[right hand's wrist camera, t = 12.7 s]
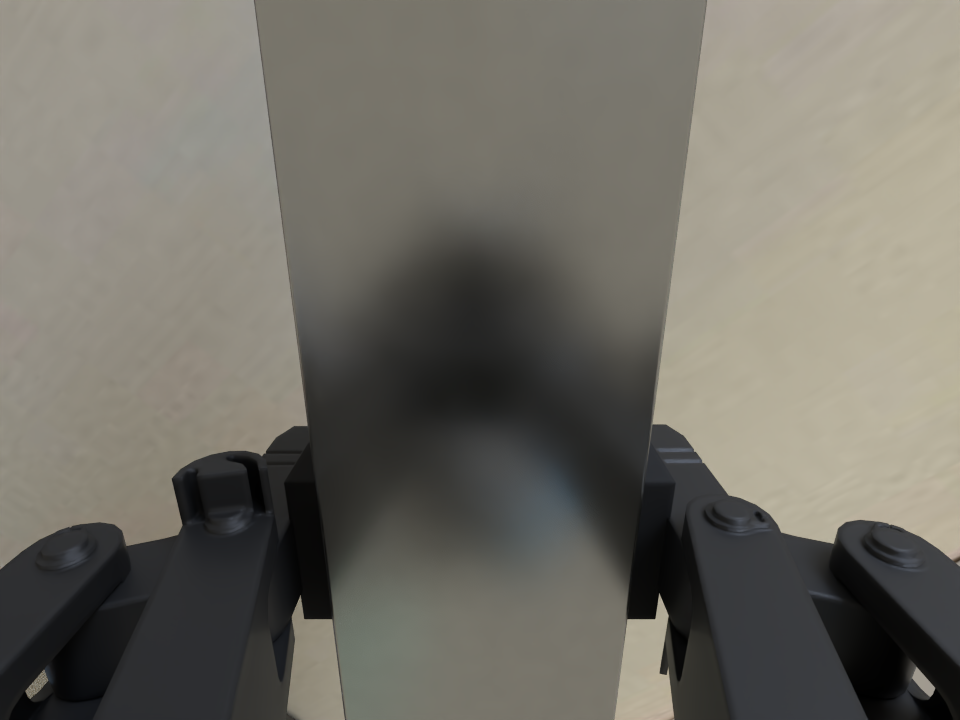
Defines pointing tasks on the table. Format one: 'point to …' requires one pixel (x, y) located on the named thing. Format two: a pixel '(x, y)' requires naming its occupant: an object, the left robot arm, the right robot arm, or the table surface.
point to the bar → (480, 329)
